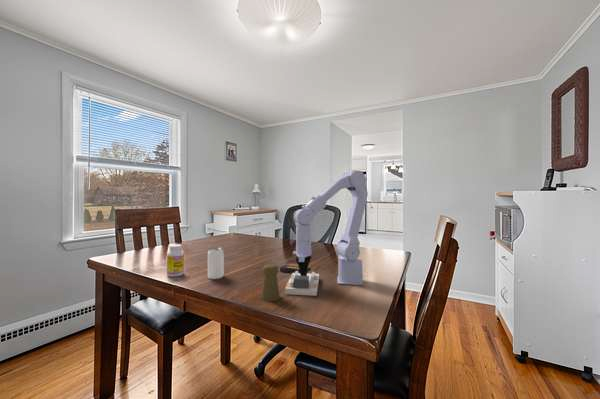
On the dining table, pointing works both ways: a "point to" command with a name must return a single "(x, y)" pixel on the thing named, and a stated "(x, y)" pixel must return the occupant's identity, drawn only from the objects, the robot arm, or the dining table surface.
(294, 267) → the ammunition clip
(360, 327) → the dining table surface
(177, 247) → the supplement bottle
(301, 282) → the switch tab
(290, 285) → the switch board
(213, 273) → the can
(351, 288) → the dining table surface
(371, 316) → the dining table surface
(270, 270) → the green chess rook
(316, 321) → the dining table surface
